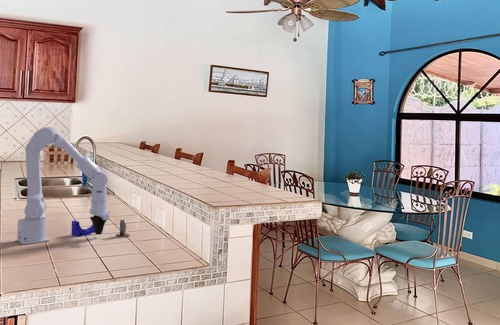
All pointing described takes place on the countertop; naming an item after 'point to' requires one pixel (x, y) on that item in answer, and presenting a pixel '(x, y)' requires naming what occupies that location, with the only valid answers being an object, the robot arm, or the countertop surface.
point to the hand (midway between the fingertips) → (98, 233)
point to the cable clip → (81, 230)
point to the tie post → (122, 229)
